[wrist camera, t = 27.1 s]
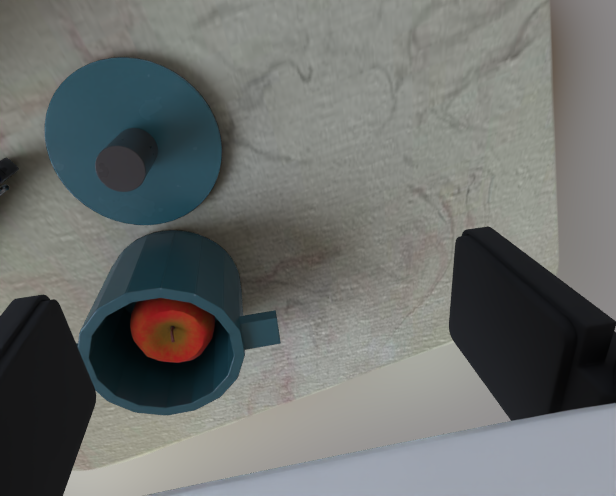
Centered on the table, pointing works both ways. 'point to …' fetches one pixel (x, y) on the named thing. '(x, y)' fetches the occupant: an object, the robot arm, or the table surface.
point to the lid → (133, 141)
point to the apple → (171, 329)
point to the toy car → (6, 173)
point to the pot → (182, 287)
